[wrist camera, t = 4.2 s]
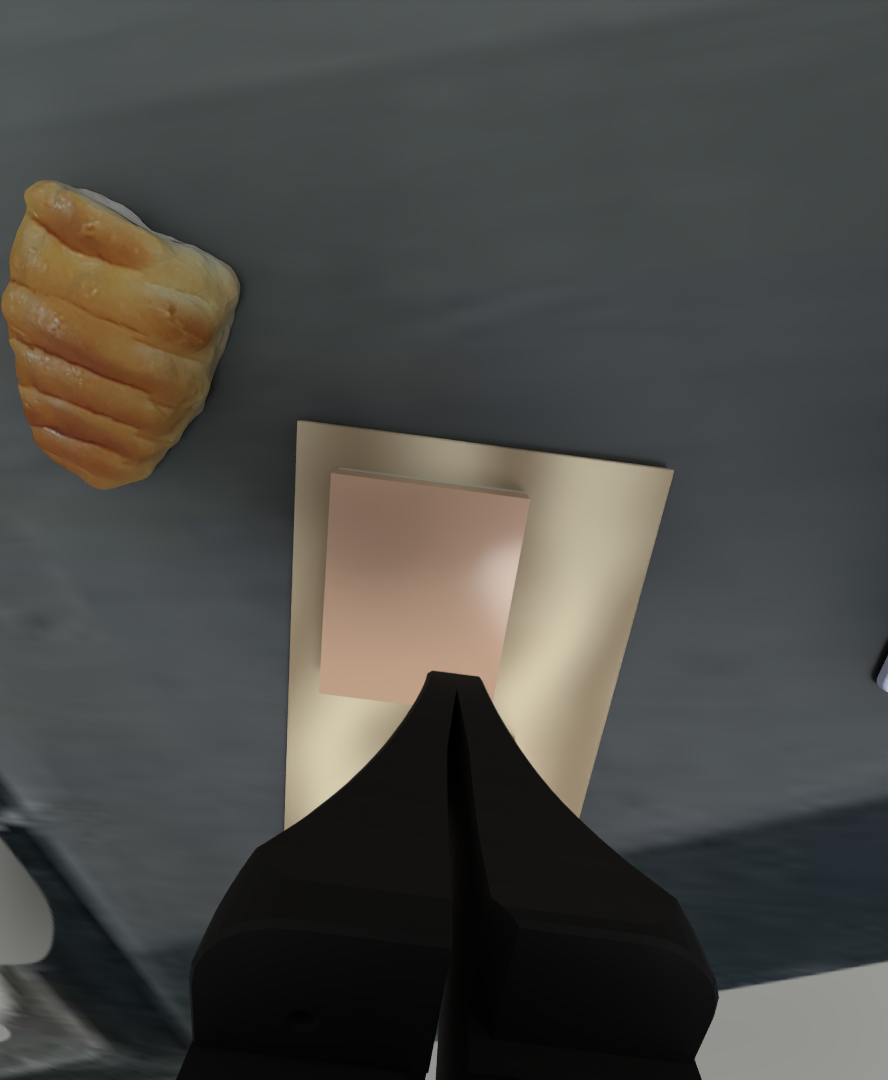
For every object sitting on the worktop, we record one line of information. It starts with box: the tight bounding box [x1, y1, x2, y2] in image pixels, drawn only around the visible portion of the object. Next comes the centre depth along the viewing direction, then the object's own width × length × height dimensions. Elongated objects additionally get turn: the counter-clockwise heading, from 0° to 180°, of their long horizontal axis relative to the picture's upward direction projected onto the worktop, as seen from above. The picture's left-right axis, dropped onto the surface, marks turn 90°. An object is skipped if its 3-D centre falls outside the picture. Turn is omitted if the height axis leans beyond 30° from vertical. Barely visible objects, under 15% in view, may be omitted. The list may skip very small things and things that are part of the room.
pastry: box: [1, 180, 240, 490], centre depth 15 cm, size 9×7×4 cm
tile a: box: [319, 468, 530, 705], centre depth 18 cm, size 1×9×7 cm
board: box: [284, 420, 674, 830], centre depth 21 cm, size 14×24×1 cm, turn 173°
